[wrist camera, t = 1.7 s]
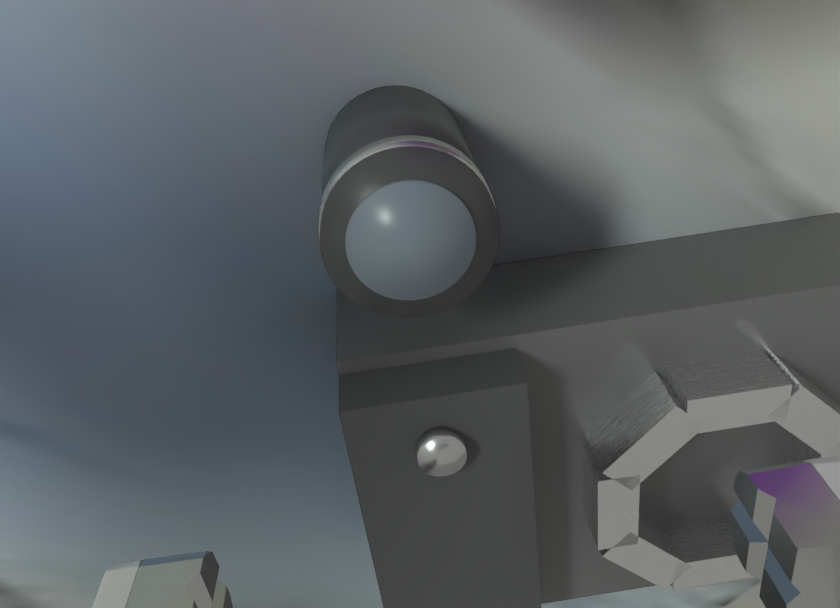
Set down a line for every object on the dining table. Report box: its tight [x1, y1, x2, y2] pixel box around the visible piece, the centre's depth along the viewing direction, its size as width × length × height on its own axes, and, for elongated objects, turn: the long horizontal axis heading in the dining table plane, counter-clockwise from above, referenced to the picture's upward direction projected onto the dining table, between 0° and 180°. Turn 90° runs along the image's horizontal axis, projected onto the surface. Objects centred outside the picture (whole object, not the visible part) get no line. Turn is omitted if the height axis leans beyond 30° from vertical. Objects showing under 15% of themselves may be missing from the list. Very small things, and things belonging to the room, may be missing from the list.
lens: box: [319, 86, 500, 318], centre depth 24 cm, size 5×5×7 cm
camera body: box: [336, 213, 840, 608], centre depth 30 cm, size 20×14×8 cm
